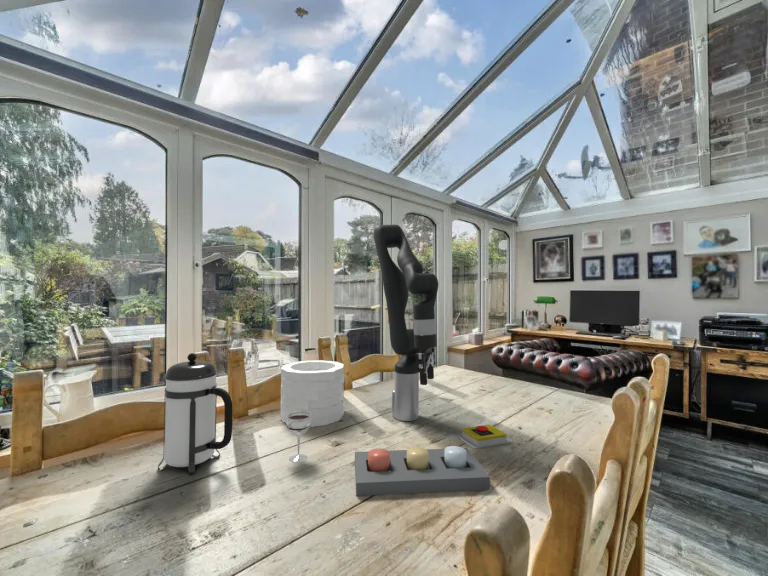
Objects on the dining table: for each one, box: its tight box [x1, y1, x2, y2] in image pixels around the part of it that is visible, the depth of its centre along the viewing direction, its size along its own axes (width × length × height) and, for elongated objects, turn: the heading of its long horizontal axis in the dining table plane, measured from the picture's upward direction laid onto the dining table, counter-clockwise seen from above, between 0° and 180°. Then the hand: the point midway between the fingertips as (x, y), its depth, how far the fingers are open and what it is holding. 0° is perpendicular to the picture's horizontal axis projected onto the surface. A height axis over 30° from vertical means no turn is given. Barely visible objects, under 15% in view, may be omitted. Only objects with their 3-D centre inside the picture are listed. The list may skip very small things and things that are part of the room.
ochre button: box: [406, 446, 429, 470], centre depth 91 cm, size 6×6×4 cm
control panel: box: [354, 447, 490, 497], centre depth 91 cm, size 32×16×3 cm, turn 96°
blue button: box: [444, 445, 466, 469], centre depth 92 cm, size 6×6×4 cm
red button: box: [367, 448, 390, 472], centre depth 90 cm, size 6×6×4 cm
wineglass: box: [286, 412, 311, 463], centre depth 100 cm, size 7×7×12 cm
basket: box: [280, 359, 345, 428], centre depth 134 cm, size 25×24×19 cm
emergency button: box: [457, 424, 513, 449], centre depth 114 cm, size 9×4×15 cm
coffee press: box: [157, 353, 234, 476], centre depth 96 cm, size 17×16×30 cm
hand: (427, 381), depth 117 cm, fingers open, 8 cm apart
